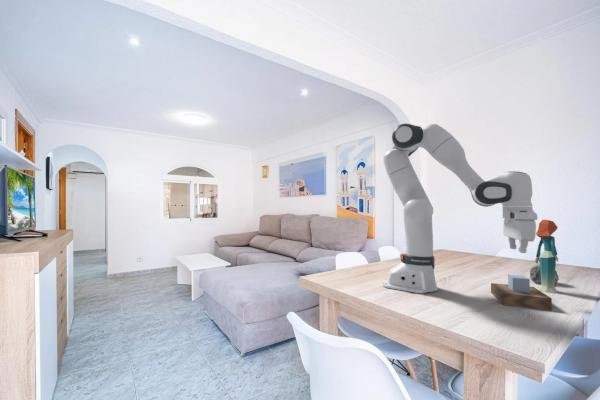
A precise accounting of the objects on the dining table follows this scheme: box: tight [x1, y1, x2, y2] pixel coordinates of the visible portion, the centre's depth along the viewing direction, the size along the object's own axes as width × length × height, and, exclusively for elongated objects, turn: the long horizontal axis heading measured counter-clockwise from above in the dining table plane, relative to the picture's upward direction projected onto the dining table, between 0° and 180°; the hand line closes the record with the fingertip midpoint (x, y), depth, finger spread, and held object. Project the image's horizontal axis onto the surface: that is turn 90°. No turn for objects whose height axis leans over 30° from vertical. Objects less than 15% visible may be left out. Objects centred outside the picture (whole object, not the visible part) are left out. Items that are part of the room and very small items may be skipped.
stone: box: [529, 262, 560, 285], centre depth 124 cm, size 10×10×10 cm
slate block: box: [507, 274, 531, 293], centre depth 100 cm, size 5×5×5 cm
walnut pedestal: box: [490, 282, 553, 311], centre depth 100 cm, size 14×14×4 cm
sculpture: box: [534, 219, 559, 294], centre depth 113 cm, size 13×7×30 cm, turn 168°
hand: (517, 250), depth 101 cm, fingers open, 8 cm apart
